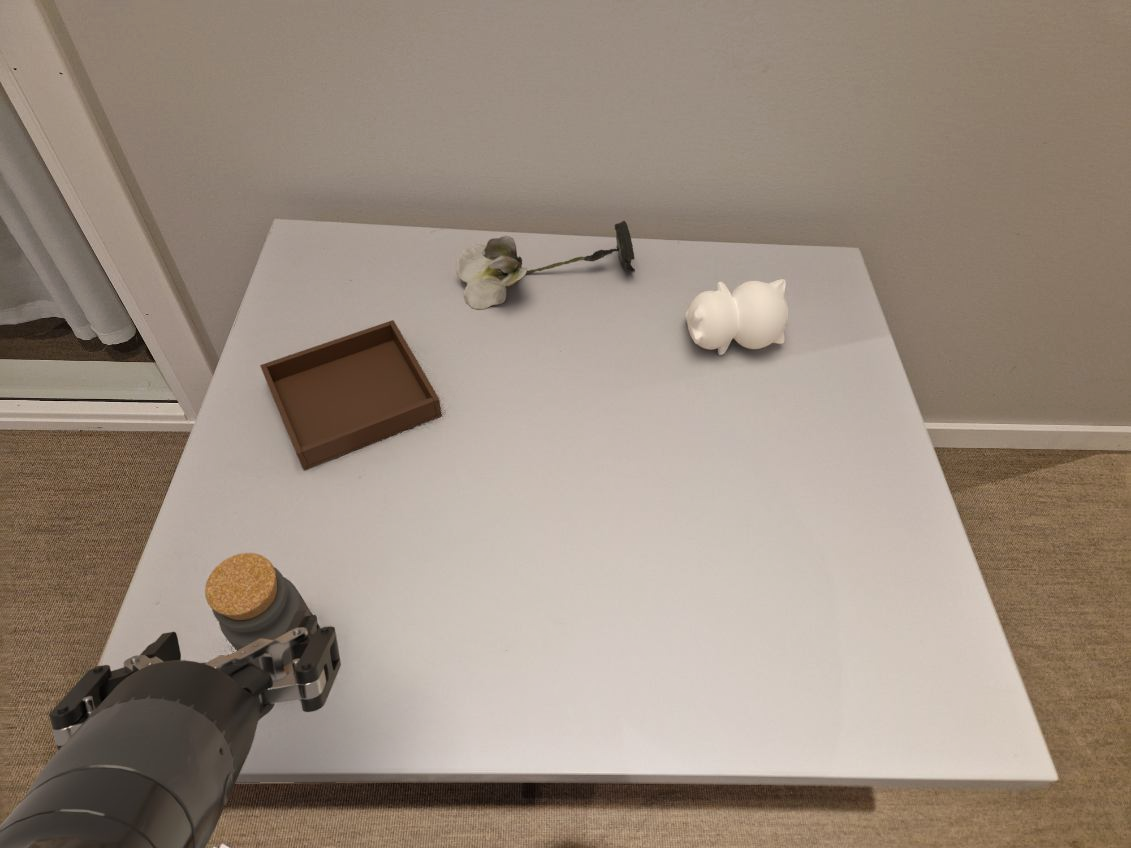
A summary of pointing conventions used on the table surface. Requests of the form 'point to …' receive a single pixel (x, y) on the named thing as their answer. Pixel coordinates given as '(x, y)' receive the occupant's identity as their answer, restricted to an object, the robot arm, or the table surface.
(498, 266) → the artificial flower
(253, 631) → the bottle
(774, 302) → the cat figurine
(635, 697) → the table surface
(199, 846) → the robot arm
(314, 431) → the tray
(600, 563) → the table surface
